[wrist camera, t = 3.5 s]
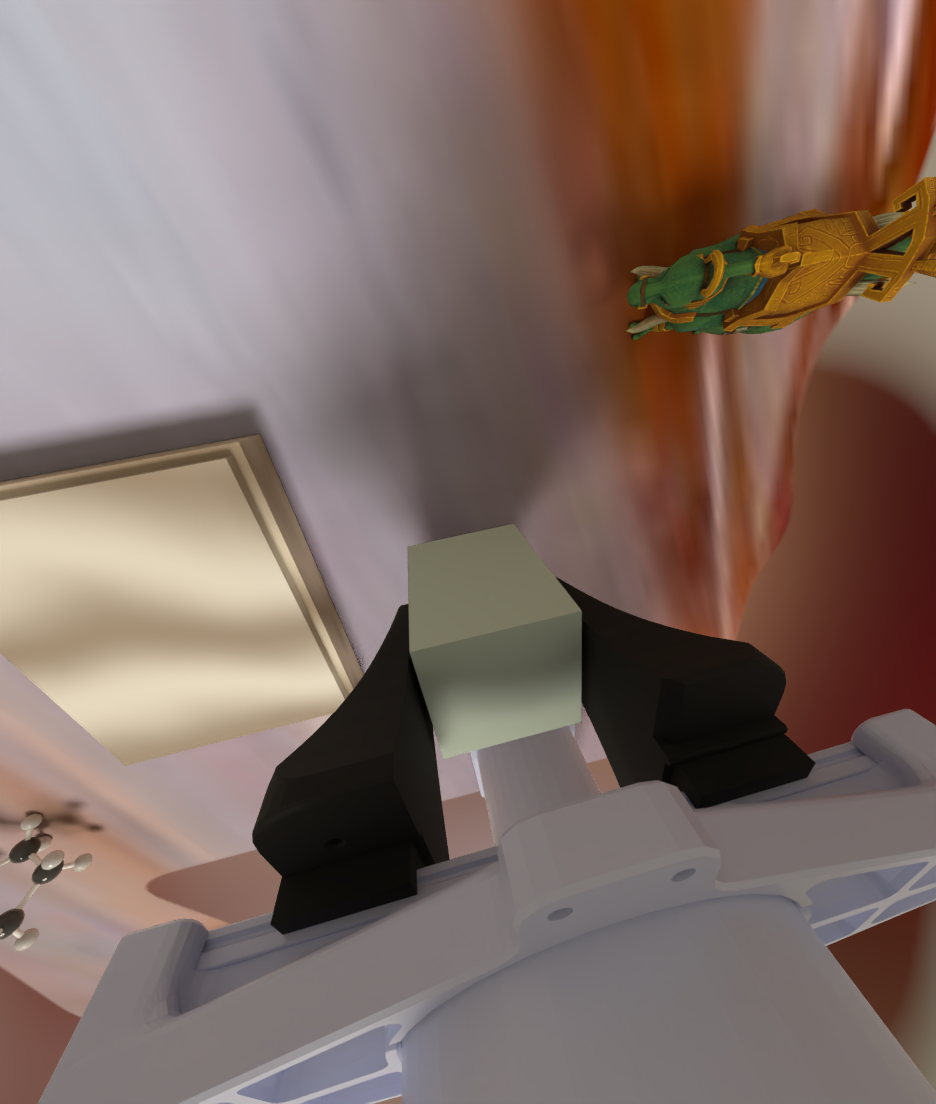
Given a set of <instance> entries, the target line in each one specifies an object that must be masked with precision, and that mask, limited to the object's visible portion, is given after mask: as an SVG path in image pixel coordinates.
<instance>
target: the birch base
mask: <svg viewBox="0 0 936 1104" xmlns="http://www.w3.org/2000/svg"><path fill="white" fill-rule="evenodd" d="M0 653H1V654H2V655H3V656H4V657H5V658H6V659H7V660H9V661H10V662H11V663H12V664H13V665H14V666H15V667H16V668H17V669H19V670H20V671H21V672H22V673H23V674H24V675H25V676H26V677H27V678H29V679H30V680H31V681H32V682H33V683H34V684H35V685H36V686H37V687H39V688H40V689H41V690H42V691H43V692H44V693H45V694H46V695H47V696H49V697H50V698H51V699H52V700H53V701H54V702H55V703H56V704H57V705H59V706H60V707H61V708H62V709H63V710H64V711H65V712H66V713H67V714H69V715H70V716H71V717H72V718H73V719H74V720H75V721H76V722H77V723H79V724H80V725H81V726H82V727H83V728H84V729H85V730H86V731H87V732H89V733H90V734H91V735H92V736H93V737H94V738H95V739H96V740H97V741H99V742H100V743H101V744H102V745H103V746H104V747H105V748H106V749H107V750H109V751H110V752H111V753H112V754H113V755H114V756H115V757H116V758H117V759H119V760H120V761H121V762H122V763H123V764H124V765H125V766H126V765H130V764H134V763H138V762H142V761H146V760H150V759H154V758H158V757H162V756H166V755H170V754H173V753H177V752H181V751H185V750H189V749H193V748H197V747H201V746H205V745H209V744H213V743H217V742H221V741H225V740H229V739H233V738H237V737H241V736H245V735H249V734H253V733H257V732H261V731H265V730H268V729H272V728H276V727H280V726H284V725H288V724H292V723H296V722H300V721H304V720H308V719H312V718H316V717H320V716H324V715H328V714H332V713H334V712H335V711H336V710H337V709H338V707H339V706H340V705H341V704H342V703H343V701H344V700H345V699H346V698H347V697H348V695H349V694H350V693H351V692H352V690H353V689H354V688H355V687H356V685H357V684H358V682H359V681H360V680H361V678H362V677H363V675H364V674H363V672H362V670H361V667H360V665H359V663H358V661H357V658H356V656H355V654H354V651H353V649H352V647H351V644H350V642H349V640H348V637H347V635H346V633H345V630H344V628H343V626H342V623H341V621H340V619H339V616H338V614H337V612H336V610H335V607H334V605H333V603H332V600H331V598H330V596H329V593H328V591H327V589H326V586H325V584H324V582H323V579H322V577H321V575H320V572H319V570H318V568H317V565H316V563H315V561H314V558H313V556H312V554H311V552H310V549H309V547H308V545H307V542H306V540H305V538H304V535H303V533H302V531H301V528H300V526H299V524H298V521H297V519H296V517H295V514H294V512H293V510H292V507H291V505H290V503H289V501H288V498H287V496H286V494H285V491H284V489H283V487H282V484H281V482H280V480H279V477H278V475H277V473H276V470H275V468H274V466H273V463H272V461H271V459H270V456H269V454H268V452H267V449H266V447H265V445H264V443H263V440H262V438H261V436H260V434H257V435H252V436H247V437H241V438H236V439H230V440H225V441H220V442H214V443H209V444H203V445H198V446H192V447H187V448H182V449H176V450H171V451H165V452H160V453H155V454H149V455H144V456H138V457H133V458H127V459H122V460H117V461H111V462H106V463H100V464H95V465H89V466H84V467H79V468H73V469H68V470H62V471H57V472H52V473H46V474H41V475H35V476H30V477H24V478H19V479H14V480H8V481H3V482H0Z"/></svg>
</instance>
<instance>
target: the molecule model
mask: <svg viewBox="0 0 936 1104" xmlns="http://www.w3.org/2000/svg"><path fill="white" fill-rule="evenodd" d="M42 819H43V816H42V815H41V814H37V813H35V814H31V815H29V816H27V817H26V818H25V819H24V820H23V821H22V822H21V824H20V828H21V829H22V830H23V831H26V836H25V839H24V840H22V841H20V842H19V843H17V844H16V845H15V846H14V847H13V848H12V850H11V851H10V854H9V857H8V858H6V859H5V860H3V861H1V862H0V867H1V866H3V865H4V864H6V863H8V862H10V861H11V862H12V863H22V862H25V861H27V860H29V859H31V860H32V861H33V862H34V863H35V864H36V865H37V866H38V867H37V868H36V869H35V870H34V872H33V874H32V881H33V883H35V884H34V886H33V887H32V888H31V890H30V891H29V892H28V893H27V895H26V896H25V897H24V899H23V900H22V901H21V902H20V904H19V905H18V906H17V908H15V909H11V910H8V911H6V912H4V913H3V914H1V915H0V940H2V939H4V938H6V937H8V936H10V935H11V934H13V935H14V936H16V937H17V940H16V941H15V944H14V948H15V950H16V951H22V950H25V949H27V948H28V947H30V946H31V945H32V944H33V943H34V942H35V941H36V939H37V938H38V935H39V931H38V929H36V928H31V929H28V930H26V931H25V932H23V931H22V930H21V929H20V928H19V926H20V925H21V924H22V922H23V920H24V916H25V913H24V911H23V910H22V907H23V906H24V905H25V904H26V902H27V901H28V900H29V898H30V897H31V896H32V894H33V893H34V892H35V891H36V889H37V888H38V887H39V885H41V884H45V883H48V882H50V881H51V880H53V879H54V878H55V877H57V876H58V875H59V873H60V872H61V871H62V870H63V869H67V868H71V867H72V869H73V870H74V871H76V872H78V871H82V870H84V869H85V868H87V867H88V866H89V865H90V863H91V862H92V855H91V854H89V853H86V854H83V855H81V856H79V857H78V858H77V859H76V860H75V861H74V862H72V863H67V864H64V861H63V858H64V852H63V851H61V850H56V851H53V852H51V853H49V854H48V855H47V856H46V857H45V858H44V859H43V860H42V859H41V858H39V857H38V856H37V855H36V853H38V852H41V851H43V850H45V849H46V848H47V847H48V846H49V845H50V843H51V837H50V836H41V837H39V838H37V837H31V836H32V831H33V829H34V828H36V827H37V826H38V825H39V824H40V823H41V821H42Z"/></svg>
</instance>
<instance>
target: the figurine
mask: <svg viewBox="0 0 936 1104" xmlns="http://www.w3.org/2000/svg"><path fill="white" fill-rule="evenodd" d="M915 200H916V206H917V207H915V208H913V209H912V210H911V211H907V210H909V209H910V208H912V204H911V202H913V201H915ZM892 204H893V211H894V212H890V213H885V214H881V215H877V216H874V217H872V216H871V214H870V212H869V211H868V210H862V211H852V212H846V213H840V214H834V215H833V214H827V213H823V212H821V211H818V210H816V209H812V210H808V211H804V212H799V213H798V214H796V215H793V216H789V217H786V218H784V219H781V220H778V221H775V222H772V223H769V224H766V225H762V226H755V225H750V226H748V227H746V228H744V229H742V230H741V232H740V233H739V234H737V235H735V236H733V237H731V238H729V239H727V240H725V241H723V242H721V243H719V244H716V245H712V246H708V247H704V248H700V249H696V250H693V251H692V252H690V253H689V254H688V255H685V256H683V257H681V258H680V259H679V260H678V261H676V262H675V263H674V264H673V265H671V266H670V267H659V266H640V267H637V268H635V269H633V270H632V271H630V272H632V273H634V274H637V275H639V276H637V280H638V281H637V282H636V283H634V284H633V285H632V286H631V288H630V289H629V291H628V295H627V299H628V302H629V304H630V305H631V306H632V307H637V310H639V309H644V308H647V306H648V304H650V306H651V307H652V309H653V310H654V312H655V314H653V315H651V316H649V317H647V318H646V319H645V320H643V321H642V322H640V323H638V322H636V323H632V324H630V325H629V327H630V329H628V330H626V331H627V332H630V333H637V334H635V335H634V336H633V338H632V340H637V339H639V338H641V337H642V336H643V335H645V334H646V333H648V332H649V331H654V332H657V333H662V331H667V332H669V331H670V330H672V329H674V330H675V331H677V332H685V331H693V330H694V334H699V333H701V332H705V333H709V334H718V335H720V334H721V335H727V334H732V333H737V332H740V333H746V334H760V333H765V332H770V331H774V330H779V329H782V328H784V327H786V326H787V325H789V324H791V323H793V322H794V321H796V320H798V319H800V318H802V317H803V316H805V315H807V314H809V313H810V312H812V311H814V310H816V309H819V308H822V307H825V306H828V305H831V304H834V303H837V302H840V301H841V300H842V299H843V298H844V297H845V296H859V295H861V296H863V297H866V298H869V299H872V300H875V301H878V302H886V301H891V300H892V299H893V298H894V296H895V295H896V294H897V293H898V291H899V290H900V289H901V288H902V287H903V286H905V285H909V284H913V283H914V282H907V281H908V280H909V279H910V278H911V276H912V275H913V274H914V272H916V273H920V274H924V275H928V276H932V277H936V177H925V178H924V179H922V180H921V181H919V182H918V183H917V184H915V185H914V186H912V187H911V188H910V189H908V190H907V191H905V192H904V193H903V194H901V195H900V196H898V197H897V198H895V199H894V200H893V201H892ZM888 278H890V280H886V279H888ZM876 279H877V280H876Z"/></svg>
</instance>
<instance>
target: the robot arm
mask: <svg viewBox="0 0 936 1104" xmlns="http://www.w3.org/2000/svg"><path fill="white" fill-rule="evenodd" d="M556 579H557V580H558V581H559V582H560V584H561V585H562V586H563V588H564V589H565V590H566V591H567V593H568V594H569V595H570V596H571V598H572V599H573V600H574V602H575V603H576V604H577V605H578V607H579V608H580V609H581V611H582V695H581V701H582V703H583V706H584V708H585V710H586V712H587V714H588V716H589V718H590V720H591V722H592V724H593V727H594V729H595V731H596V733H597V735H598V738H599V740H600V742H601V744H602V746H603V748H604V751H605V753H606V755H607V758H608V760H609V762H610V765H611V767H612V769H613V771H614V773H615V776H616V778H617V781H618V783H619V785H620V788H618V789H615V790H611V791H608V792H604V793H601V792H600V790H599V788H598V786H597V784H596V782H595V780H594V778H593V776H592V774H591V772H590V770H589V768H588V766H587V763H586V761H585V759H584V757H583V755H582V753H581V751H580V749H579V747H578V745H577V743H576V740H575V724H572V725H568V726H565V727H561V728H557V729H554V730H550V731H546V732H542V733H539V734H535V735H531V736H527V737H524V738H520V739H516V740H512V741H509V742H505V743H501V744H497V745H494V746H490V747H486V748H482V749H479V750H475V751H471V752H470V754H471V758H472V762H473V765H474V769H475V773H476V777H477V781H478V785H479V789H480V793H481V796H482V797H484V798H485V800H486V805H487V810H488V815H489V820H490V825H491V830H492V835H493V840H494V845H495V847H492V848H488V849H485V850H482V851H478V852H475V853H471V854H468V855H464V856H461V857H458V858H454V859H451V860H449V853H448V846H447V839H446V832H445V824H444V816H443V809H442V801H441V794H440V786H439V778H438V769H437V761H436V753H435V744H434V735H433V724H432V721H431V718H430V714H429V711H428V708H427V705H426V702H425V699H424V696H423V693H422V690H421V686H420V683H419V680H418V677H417V674H416V671H415V668H414V665H413V661H412V658H411V655H410V651H409V604H406V605H402V606H400V607H399V609H398V611H397V614H396V616H395V619H394V621H393V623H392V625H391V628H390V630H389V632H388V634H387V636H386V638H385V640H384V642H383V644H382V646H381V647H380V649H379V651H378V653H377V654H376V656H375V658H374V660H373V661H372V663H371V665H370V666H369V668H368V669H367V671H366V672H365V674H364V675H363V677H362V678H361V680H360V681H359V682H358V684H357V685H356V687H355V688H354V689H353V690H352V692H351V693H350V694H349V695H348V697H347V698H346V699H345V700H344V701H343V703H342V704H341V705H340V706H339V707H338V709H337V710H336V711H335V712H334V713H333V714H332V715H331V716H330V717H329V718H328V719H327V721H326V722H325V723H324V724H323V725H322V726H321V727H320V728H319V729H318V730H317V731H316V732H315V733H314V734H313V735H312V736H311V737H309V738H308V739H307V740H306V741H305V742H304V743H303V744H302V745H301V746H300V747H299V748H297V749H296V750H295V751H294V752H293V753H292V754H291V755H290V756H288V757H287V758H286V759H285V760H284V761H283V762H282V763H280V764H279V765H278V766H277V767H276V769H275V772H274V774H273V776H272V779H271V781H270V783H269V786H268V788H267V791H266V794H265V797H264V800H263V803H262V806H261V809H260V812H259V815H258V818H257V821H256V824H255V827H254V830H253V833H252V837H253V844H254V845H255V847H256V848H257V850H258V851H259V853H260V854H261V855H262V856H263V857H264V858H265V859H266V860H267V861H268V862H269V863H270V864H271V865H272V866H273V867H274V868H275V870H277V872H278V873H280V875H281V876H282V879H281V883H280V887H279V891H278V895H277V900H276V903H275V908H274V912H271V913H267V914H264V915H260V916H257V917H254V918H250V919H247V920H244V921H240V922H237V923H233V924H230V925H226V926H223V927H220V928H216V929H213V930H209V931H208V930H207V928H206V927H205V926H204V925H203V924H202V923H201V922H199V921H197V920H194V919H179V920H173V921H170V922H167V923H163V924H160V925H156V926H153V927H149V928H146V929H142V930H139V931H135V932H132V933H129V934H127V935H126V936H124V937H123V938H122V939H121V941H120V943H119V945H118V947H117V949H116V951H115V953H114V955H113V957H112V958H111V960H110V962H109V964H108V966H107V968H106V970H105V972H104V974H103V976H102V978H101V980H100V982H99V984H98V986H97V988H96V990H95V992H94V994H93V996H92V998H91V1000H90V1002H89V1004H88V1006H87V1008H86V1010H85V1012H84V1014H83V1016H82V1018H81V1020H80V1021H79V1023H78V1025H77V1027H76V1029H75V1032H74V1033H73V1035H72V1037H71V1039H70V1041H69V1043H68V1045H67V1047H66V1049H65V1051H64V1053H63V1055H62V1057H61V1059H60V1061H59V1063H58V1065H57V1067H56V1069H55V1071H54V1073H53V1075H52V1077H51V1079H50V1081H49V1083H48V1085H47V1086H46V1088H45V1090H44V1092H43V1094H42V1096H41V1098H40V1100H39V1102H38V1104H373V1103H377V1102H381V1101H384V1100H388V1099H391V1098H395V1097H399V1096H402V1104H936V1092H935V1091H934V1090H933V1088H932V1087H931V1085H930V1084H929V1083H928V1082H927V1080H926V1079H925V1077H924V1076H923V1075H922V1073H921V1072H920V1071H919V1070H918V1068H917V1067H916V1066H915V1064H914V1063H913V1062H912V1060H911V1059H910V1057H909V1056H908V1055H907V1053H906V1052H905V1051H904V1050H903V1048H902V1047H901V1046H900V1044H899V1043H898V1041H897V1040H896V1039H895V1038H894V1036H893V1035H892V1034H891V1032H890V1031H889V1030H888V1028H887V1027H886V1026H885V1024H884V1023H883V1022H882V1020H881V1019H880V1018H879V1016H878V1015H877V1014H876V1012H875V1011H874V1010H873V1008H872V1007H871V1006H870V1004H869V1003H868V1002H867V1000H866V999H865V998H864V996H863V995H862V994H861V992H860V991H859V990H858V988H857V987H856V986H855V984H854V983H853V982H852V980H851V979H850V978H849V976H848V975H847V974H846V972H845V971H844V970H843V968H842V967H841V966H840V964H839V963H838V962H837V961H836V959H835V958H834V956H833V955H832V954H831V952H830V951H829V950H828V948H827V947H826V946H827V945H829V944H832V943H834V942H836V941H839V940H841V939H843V938H846V937H848V936H850V935H853V934H855V933H858V932H860V931H862V930H865V929H867V928H869V927H872V926H874V925H877V924H879V923H881V922H884V921H886V920H889V919H890V918H893V917H896V916H898V915H901V914H903V913H905V912H908V911H910V910H912V909H915V908H918V907H920V906H923V905H925V904H927V903H930V902H932V901H935V900H936V726H935V725H934V724H932V723H931V722H929V721H928V720H926V719H924V718H923V717H921V716H920V715H918V714H917V713H915V712H914V711H912V710H910V709H902V710H899V711H895V712H892V713H888V714H885V715H882V716H878V717H875V718H871V719H869V720H867V721H865V722H864V723H862V724H861V725H859V726H858V728H857V729H856V730H855V732H854V733H853V736H852V738H851V742H849V743H845V744H842V745H839V746H835V747H832V748H829V749H825V750H822V751H818V752H815V753H812V754H808V755H807V754H806V753H805V752H803V751H802V750H801V749H800V748H799V747H798V746H797V745H796V744H795V743H794V742H793V741H792V740H790V739H789V738H788V737H787V736H786V735H785V734H784V733H786V732H787V730H788V729H787V727H786V725H785V724H784V723H782V722H781V721H780V720H779V719H778V718H777V717H776V716H775V715H774V714H775V712H776V709H777V707H778V705H779V702H780V700H781V698H782V695H783V693H784V689H785V685H786V678H785V672H784V671H783V670H782V668H781V667H780V666H779V665H777V664H776V663H775V662H774V661H772V660H771V659H770V658H768V657H767V656H766V655H764V654H763V653H762V652H760V651H759V650H758V649H756V648H755V647H753V646H752V645H751V644H749V643H745V642H739V641H733V640H727V639H721V638H715V637H709V636H704V635H700V634H696V633H691V632H687V631H683V630H679V629H675V628H671V627H667V626H664V625H661V624H658V623H654V622H651V621H648V620H645V619H642V618H639V617H636V616H634V615H631V614H629V613H626V612H623V611H621V610H618V609H616V608H614V607H611V606H609V605H607V604H605V603H603V602H601V601H599V600H597V599H595V598H593V597H591V596H589V595H587V594H585V593H583V592H581V591H580V590H578V589H576V588H574V587H573V586H571V585H569V584H567V583H566V582H564V581H562V580H561V579H559V578H557V577H556Z"/></svg>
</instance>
